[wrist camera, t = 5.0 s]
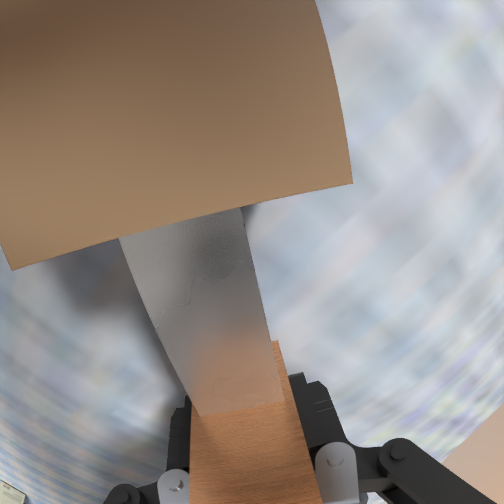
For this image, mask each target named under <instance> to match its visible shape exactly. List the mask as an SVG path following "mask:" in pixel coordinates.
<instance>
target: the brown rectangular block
mask: <svg viewBox="0 0 504 504" xmlns="http://www.w3.org/2000/svg"><path fill="white" fill-rule="evenodd" d="M347 184H353V180H352V172H351V164H350V157H349V150H348V144H347V137H346V131H345V125H344V120H343V114H342V109H341V103H340V98H339V93H338V89H337V84H336V79H335V75H334V70H333V66H332V62H331V57H330V53H329V49H328V45H327V41H326V38H325V34H324V30H323V26H322V23H321V19H320V16H319V12H318V9H317V6H316V3H315V0H0V243H1V246H2V248H3V251H4V253H5V256H6V258H7V261H8V263H9V266H10V268H11V270H12V271H13V270H16V269H19V268H22V267H25V266H28V265H31V264H34V263H38V262H41V261H44V260H47V259H50V258H53V257H56V256H60V255H63V254H66V253H69V252H73V251H76V250H79V249H83V248H86V247H89V246H93V245H96V244H100V243H103V242H107V241H110V240H114V239H117V238H121V237H124V236H128V235H131V234H135V233H139V232H142V231H146V230H150V229H153V228H157V227H161V226H165V225H169V224H173V223H176V222H180V221H184V220H188V219H192V218H196V217H200V216H204V215H208V214H213V213H217V212H221V211H225V210H229V209H234V208H238V207H242V206H247V205H251V204H255V203H260V202H264V201H269V200H273V199H278V198H283V197H287V196H292V195H297V194H302V193H307V192H311V191H316V190H321V189H326V188H332V187H337V186H342V185H347Z"/></svg>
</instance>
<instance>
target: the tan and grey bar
mask: <svg viewBox="0 0 504 504" xmlns="http://www.w3.org/2000/svg"><path fill="white" fill-rule="evenodd" d="M118 239H119V242H120V245H121V247H122V250H123V253H124V255H125V258H126V261H127V263H128V266H129V269H130V271H131V274H132V276H133V279H134V281H135V284H136V286H137V289H138V291H139V294H140V296H141V298H142V301H143V303H144V305H145V308H146V310H147V312H148V315H149V317H150V319H151V321H152V324H153V326H154V328H155V330H156V332H157V335H158V337H159V339H160V341H161V343H162V345H163V347H164V349H165V351H166V353H167V355H168V357H169V360H170V362H171V364H172V366H173V367H174V369H175V371H176V373H177V375H178V377H179V379H180V381H181V383H182V385H183V387H184V389H185V390H186V392H187V394H188V396H189V398H190V400H191V401H192V412H191V436H190V473H189V504H323V502H322V499H321V495H320V492H319V488H318V484H317V481H316V477H315V473H314V470H313V466H312V462H311V459H310V455H309V452H308V448H307V444H306V441H305V437H304V433H303V430H302V426H301V423H300V419H299V415H298V412H297V408H296V404H295V401H294V397H293V394H292V390H291V386H290V383H289V379H288V376H287V372H286V368H285V365H284V361H283V357H282V354H281V350H280V347H279V343H278V340H277V341H272V342H271V339H270V335H269V331H268V326H267V322H266V317H265V313H264V309H263V304H262V300H261V296H260V291H259V287H258V283H257V278H256V274H255V269H254V265H253V261H252V256H251V252H250V248H249V243H248V239H247V234H246V230H245V226H244V221H243V217H242V213H241V208H240V207H238V208H234V209H229V210H225V211H221V212H217V213H213V214H208V215H204V216H200V217H196V218H192V219H188V220H184V221H180V222H176V223H173V224H169V225H165V226H161V227H157V228H153V229H150V230H146V231H142V232H139V233H135V234H131V235H128V236H124V237H121V238H118Z"/></svg>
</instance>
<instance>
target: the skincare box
mask: <svg viewBox="0 0 504 504" xmlns="http://www.w3.org/2000/svg"><path fill="white" fill-rule="evenodd" d="M25 496H26V495H25V494H23V493H21V492H20V491H18V490H16V489H14V488H13V487H11V486H9V485H8V484H6V483H5V482H3V481H1V482H0V504H23V503H24V500H25Z"/></svg>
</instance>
